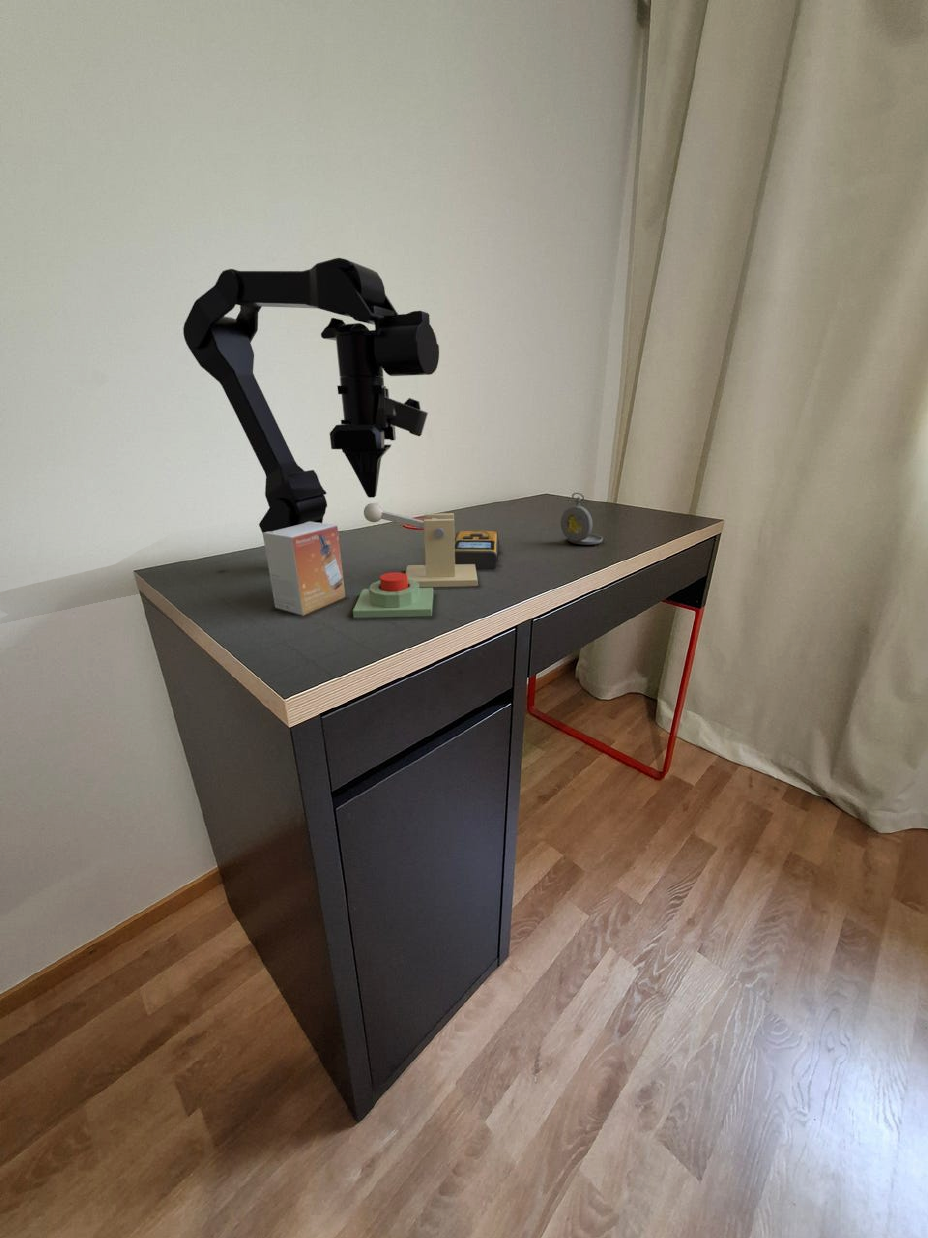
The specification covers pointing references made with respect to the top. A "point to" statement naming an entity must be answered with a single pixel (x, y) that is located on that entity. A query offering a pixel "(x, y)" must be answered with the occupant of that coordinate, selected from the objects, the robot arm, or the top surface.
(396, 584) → the button
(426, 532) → the bracket
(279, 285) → the robot arm
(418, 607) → the button block
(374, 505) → the lever
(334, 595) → the small box
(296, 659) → the top surface
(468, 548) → the electronic device
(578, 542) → the pocket watch
